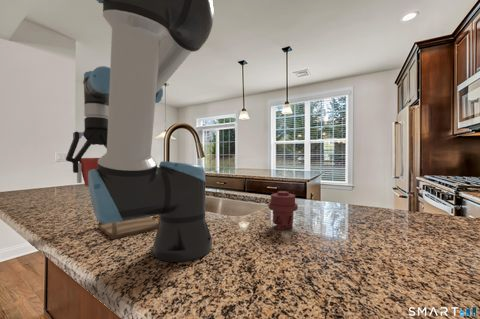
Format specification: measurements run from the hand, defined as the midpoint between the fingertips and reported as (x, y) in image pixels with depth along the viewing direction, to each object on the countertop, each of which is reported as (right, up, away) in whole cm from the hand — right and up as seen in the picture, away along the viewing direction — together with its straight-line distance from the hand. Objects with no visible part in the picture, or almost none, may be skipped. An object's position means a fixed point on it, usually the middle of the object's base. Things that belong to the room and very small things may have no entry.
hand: (98, 181), depth 78 cm
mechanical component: (+65, -16, 0) cm, 67 cm away
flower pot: (0, -2, 0) cm, 2 cm away
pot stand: (+11, -16, 0) cm, 20 cm away
